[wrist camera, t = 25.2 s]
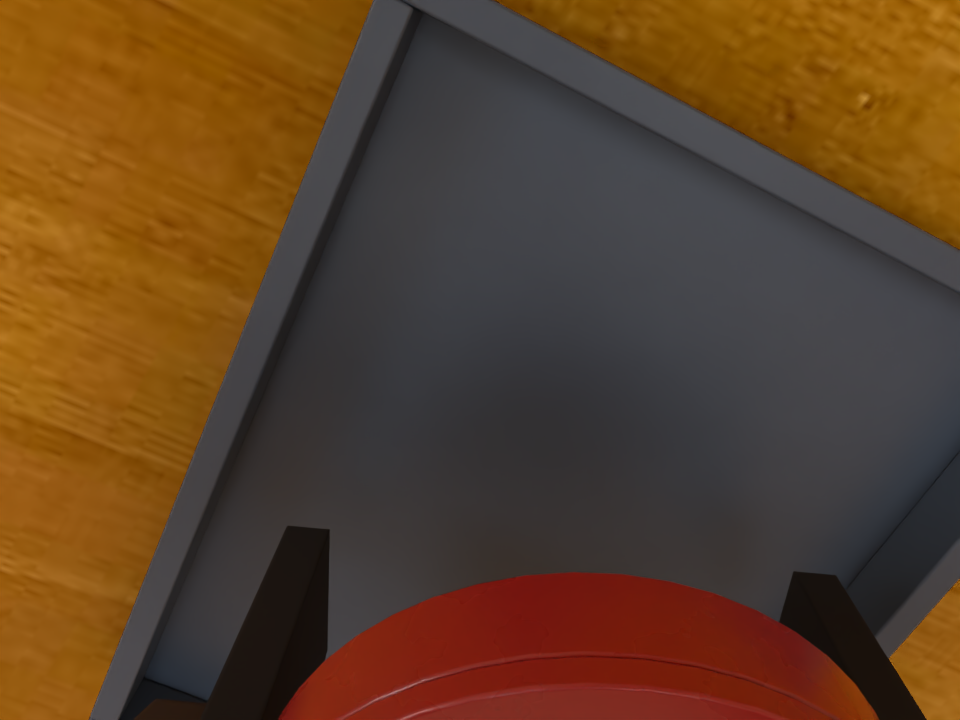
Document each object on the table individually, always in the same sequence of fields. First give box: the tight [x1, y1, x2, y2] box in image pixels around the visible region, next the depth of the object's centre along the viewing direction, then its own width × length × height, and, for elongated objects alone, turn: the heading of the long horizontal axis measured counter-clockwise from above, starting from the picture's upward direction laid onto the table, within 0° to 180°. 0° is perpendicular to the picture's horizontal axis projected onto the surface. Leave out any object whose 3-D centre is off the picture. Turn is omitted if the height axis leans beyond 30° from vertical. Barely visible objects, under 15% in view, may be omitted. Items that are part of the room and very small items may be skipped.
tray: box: [89, 0, 960, 720], centre depth 16 cm, size 17×14×2 cm
